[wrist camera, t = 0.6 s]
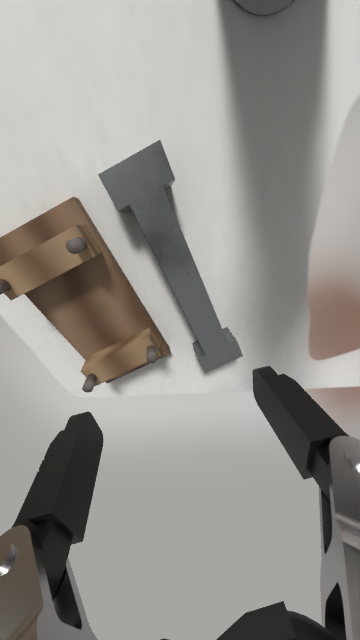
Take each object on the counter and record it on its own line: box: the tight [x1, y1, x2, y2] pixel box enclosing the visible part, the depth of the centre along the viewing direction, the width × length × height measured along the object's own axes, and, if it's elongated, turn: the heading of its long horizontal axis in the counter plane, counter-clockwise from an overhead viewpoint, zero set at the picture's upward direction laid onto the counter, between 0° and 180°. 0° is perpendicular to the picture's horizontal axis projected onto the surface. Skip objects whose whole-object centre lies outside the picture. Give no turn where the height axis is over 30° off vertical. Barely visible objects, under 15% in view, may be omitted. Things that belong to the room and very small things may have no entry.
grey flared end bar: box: [98, 140, 243, 373], centre depth 25 cm, size 6×26×4 cm, turn 25°
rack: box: [0, 197, 170, 392], centre depth 23 cm, size 11×22×6 cm, turn 25°
